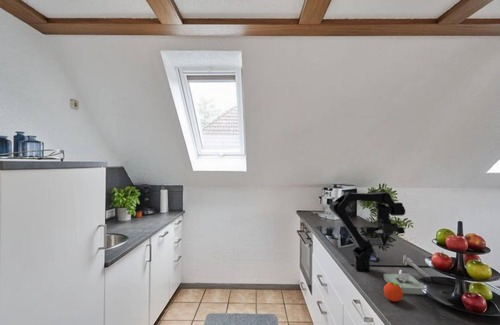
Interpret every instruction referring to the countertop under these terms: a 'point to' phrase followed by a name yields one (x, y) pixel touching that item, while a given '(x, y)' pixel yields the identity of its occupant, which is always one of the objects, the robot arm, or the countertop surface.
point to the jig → (406, 284)
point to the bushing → (403, 276)
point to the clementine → (393, 291)
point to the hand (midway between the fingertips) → (383, 245)
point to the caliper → (410, 262)
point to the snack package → (374, 255)
